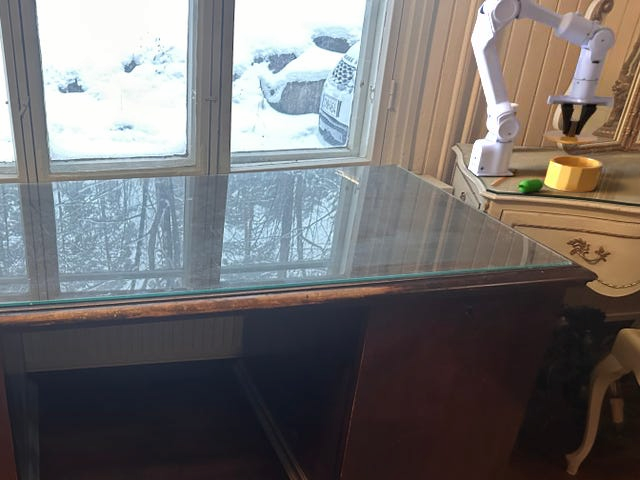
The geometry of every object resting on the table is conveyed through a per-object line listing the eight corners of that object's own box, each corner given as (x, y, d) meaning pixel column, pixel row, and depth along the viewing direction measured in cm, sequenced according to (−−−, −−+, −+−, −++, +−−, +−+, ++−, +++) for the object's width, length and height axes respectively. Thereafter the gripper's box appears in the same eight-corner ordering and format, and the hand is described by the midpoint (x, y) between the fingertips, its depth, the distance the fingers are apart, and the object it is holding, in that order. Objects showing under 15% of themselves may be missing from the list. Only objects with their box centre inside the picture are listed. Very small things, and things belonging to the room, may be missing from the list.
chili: (520, 195, 168) (523, 183, 167) (511, 191, 171) (514, 180, 169) (544, 191, 170) (548, 180, 169) (535, 187, 173) (539, 176, 171)
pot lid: (554, 146, 173) (560, 126, 171) (534, 134, 184) (539, 115, 181) (605, 146, 173) (612, 125, 170) (582, 134, 183) (588, 114, 181)
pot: (556, 192, 170) (563, 168, 167) (536, 178, 180) (542, 155, 176) (604, 191, 169) (611, 167, 166) (581, 178, 179) (588, 155, 176)
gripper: (556, 80, 169) (542, 136, 176) (622, 82, 165) (605, 139, 172) (552, 75, 175) (538, 129, 182) (616, 77, 171) (599, 132, 178)
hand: (570, 133), depth 177 cm, fingers closed on pot lid, 2 cm apart
